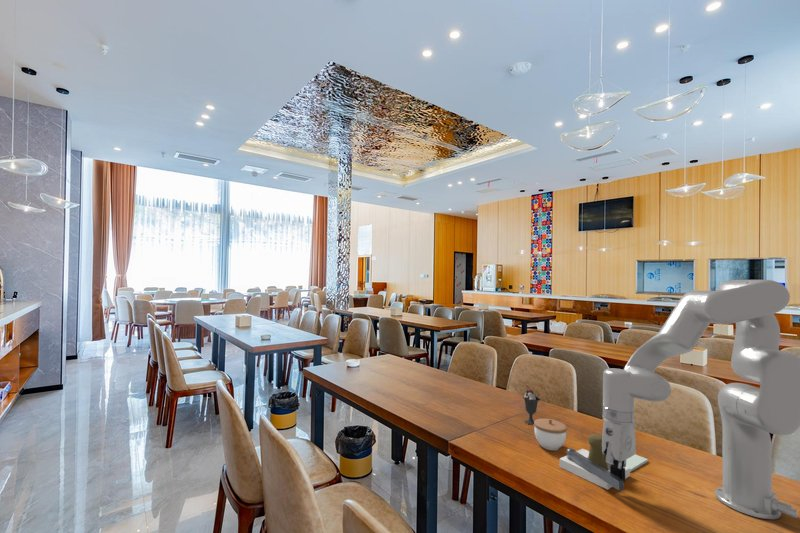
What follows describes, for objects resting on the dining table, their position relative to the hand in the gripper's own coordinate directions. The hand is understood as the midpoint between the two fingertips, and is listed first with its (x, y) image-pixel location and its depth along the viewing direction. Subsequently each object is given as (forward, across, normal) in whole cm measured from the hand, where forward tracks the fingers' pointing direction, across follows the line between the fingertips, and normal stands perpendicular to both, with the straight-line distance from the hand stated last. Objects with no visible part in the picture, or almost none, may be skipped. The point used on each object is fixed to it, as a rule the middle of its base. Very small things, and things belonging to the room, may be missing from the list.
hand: (617, 480), depth 100 cm
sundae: (+3, +21, +44) cm, 49 cm away
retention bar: (0, -1, +6) cm, 7 cm away
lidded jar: (+3, +9, +27) cm, 28 cm away
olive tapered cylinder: (+3, +6, +9) cm, 11 cm away
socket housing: (+3, +5, +9) cm, 11 cm away
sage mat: (+3, +21, +10) cm, 23 cm away
